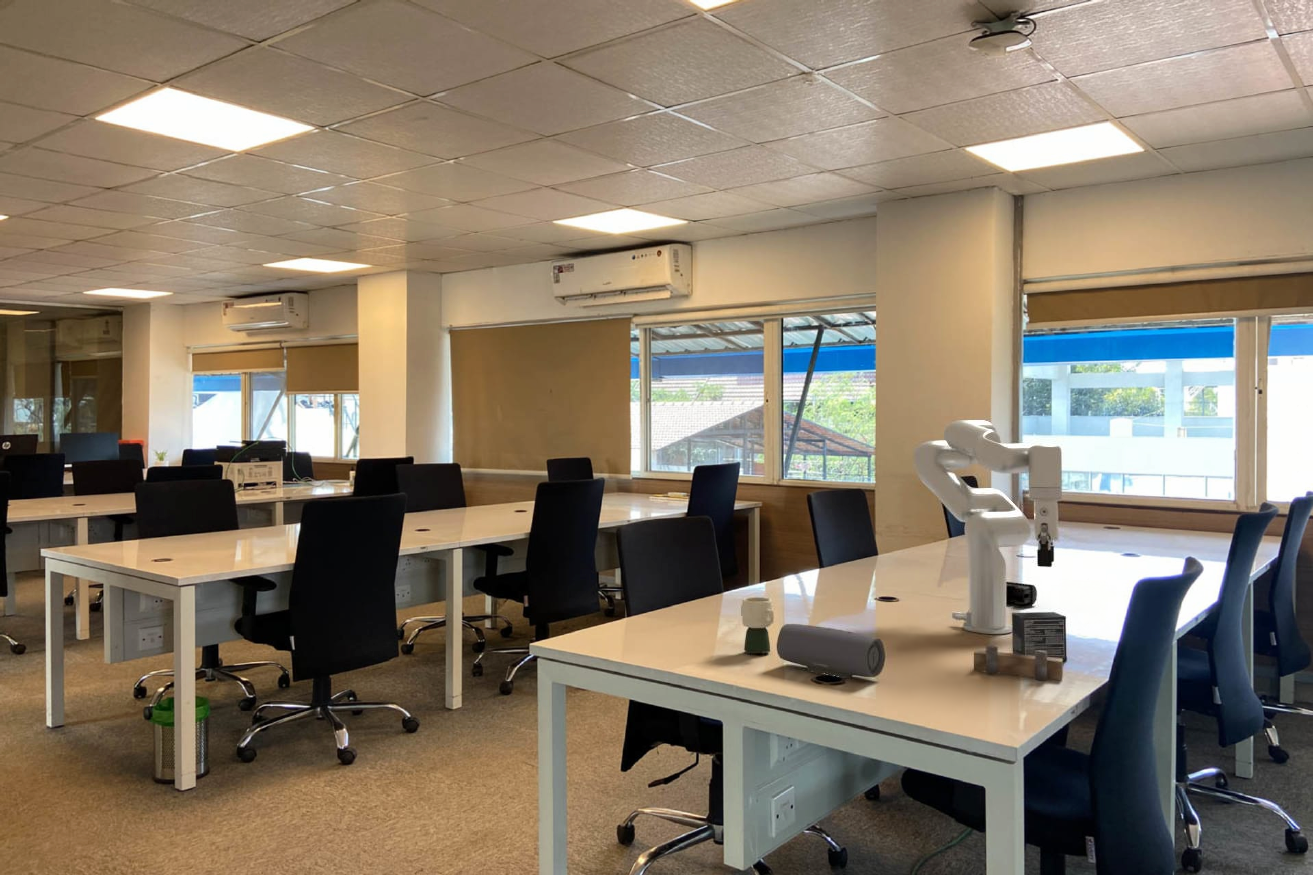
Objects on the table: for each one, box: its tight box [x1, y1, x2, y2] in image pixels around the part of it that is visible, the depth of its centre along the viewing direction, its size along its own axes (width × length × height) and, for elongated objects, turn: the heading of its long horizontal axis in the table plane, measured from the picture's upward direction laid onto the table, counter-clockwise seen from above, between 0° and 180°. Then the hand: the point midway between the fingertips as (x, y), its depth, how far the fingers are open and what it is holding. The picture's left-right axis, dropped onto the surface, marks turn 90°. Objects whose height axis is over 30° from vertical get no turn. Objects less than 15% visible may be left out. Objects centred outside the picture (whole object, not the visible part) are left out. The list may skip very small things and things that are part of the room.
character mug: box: [740, 596, 775, 655], centre depth 219 cm, size 11×7×13 cm, turn 37°
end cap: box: [1006, 581, 1038, 609], centre depth 279 cm, size 10×7×7 cm
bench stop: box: [973, 645, 1064, 682], centre depth 199 cm, size 18×5×6 cm, turn 63°
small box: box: [1011, 611, 1068, 662], centre depth 213 cm, size 11×6×10 cm, turn 92°
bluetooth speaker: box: [776, 623, 886, 679], centre depth 201 cm, size 23×9×10 cm, turn 48°
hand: (1045, 563), depth 223 cm, fingers open, 9 cm apart
